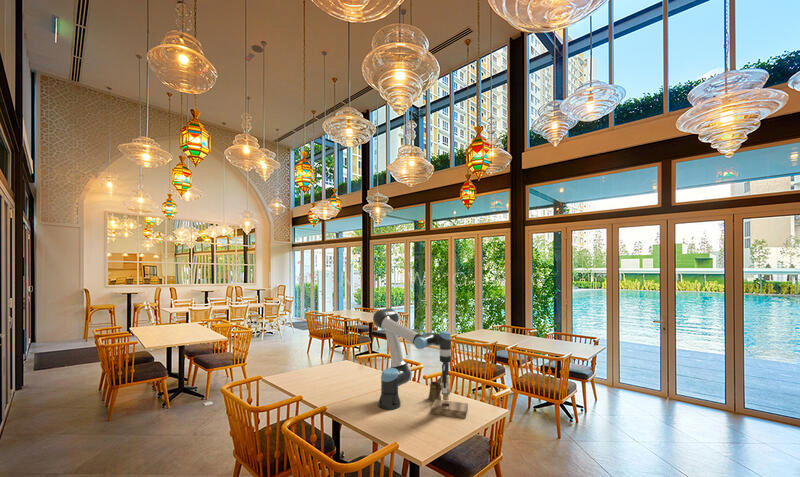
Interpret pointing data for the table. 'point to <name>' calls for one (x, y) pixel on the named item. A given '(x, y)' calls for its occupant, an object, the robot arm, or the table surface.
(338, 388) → the table surface
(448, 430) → the table surface
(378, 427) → the table surface
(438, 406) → the board
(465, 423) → the table surface
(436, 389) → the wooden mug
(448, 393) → the dowel
